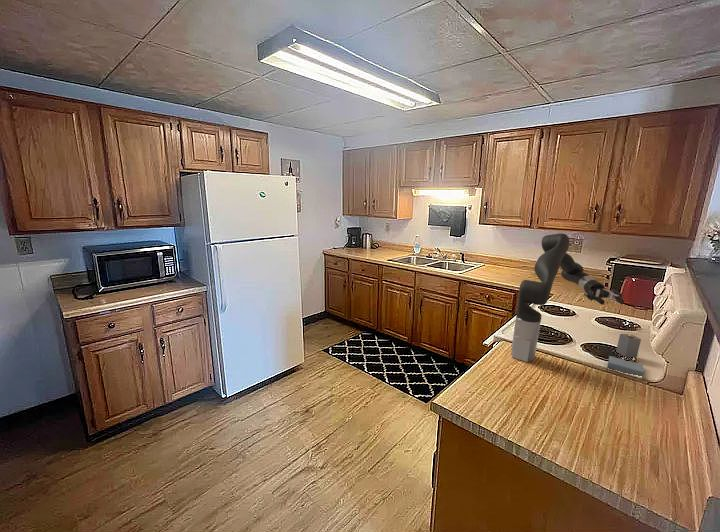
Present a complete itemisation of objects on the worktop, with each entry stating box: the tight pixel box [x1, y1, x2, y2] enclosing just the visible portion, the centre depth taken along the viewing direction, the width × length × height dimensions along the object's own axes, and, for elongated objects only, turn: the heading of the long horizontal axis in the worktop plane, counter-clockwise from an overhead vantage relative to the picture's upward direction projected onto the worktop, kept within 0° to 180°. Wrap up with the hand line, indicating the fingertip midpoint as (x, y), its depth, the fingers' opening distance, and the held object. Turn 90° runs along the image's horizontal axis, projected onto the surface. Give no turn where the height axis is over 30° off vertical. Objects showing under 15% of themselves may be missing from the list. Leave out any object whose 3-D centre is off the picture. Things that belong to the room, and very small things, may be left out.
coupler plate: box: [606, 355, 645, 378], centre depth 131 cm, size 12×11×3 cm
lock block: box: [615, 333, 642, 358], centre depth 140 cm, size 5×5×11 cm
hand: (613, 302), depth 149 cm, fingers open, 8 cm apart
